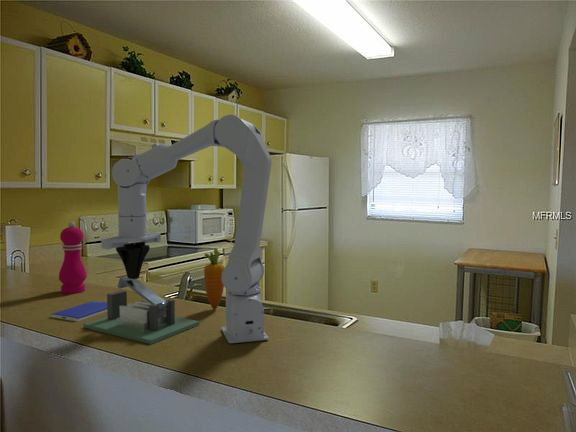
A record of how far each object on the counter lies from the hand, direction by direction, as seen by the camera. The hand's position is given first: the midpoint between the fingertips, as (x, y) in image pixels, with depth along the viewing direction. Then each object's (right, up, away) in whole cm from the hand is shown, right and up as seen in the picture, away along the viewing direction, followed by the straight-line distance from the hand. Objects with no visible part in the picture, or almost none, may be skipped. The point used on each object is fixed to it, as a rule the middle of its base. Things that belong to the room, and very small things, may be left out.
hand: (133, 278), depth 97 cm
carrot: (+16, -10, +13) cm, 23 cm away
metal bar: (+2, -5, -1) cm, 5 cm away
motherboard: (+2, -10, -1) cm, 11 cm away
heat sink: (+3, -10, -1) cm, 10 cm away
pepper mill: (-28, -8, +31) cm, 42 cm away
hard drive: (-15, -10, +10) cm, 21 cm away
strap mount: (+1, -9, 0) cm, 10 cm away
